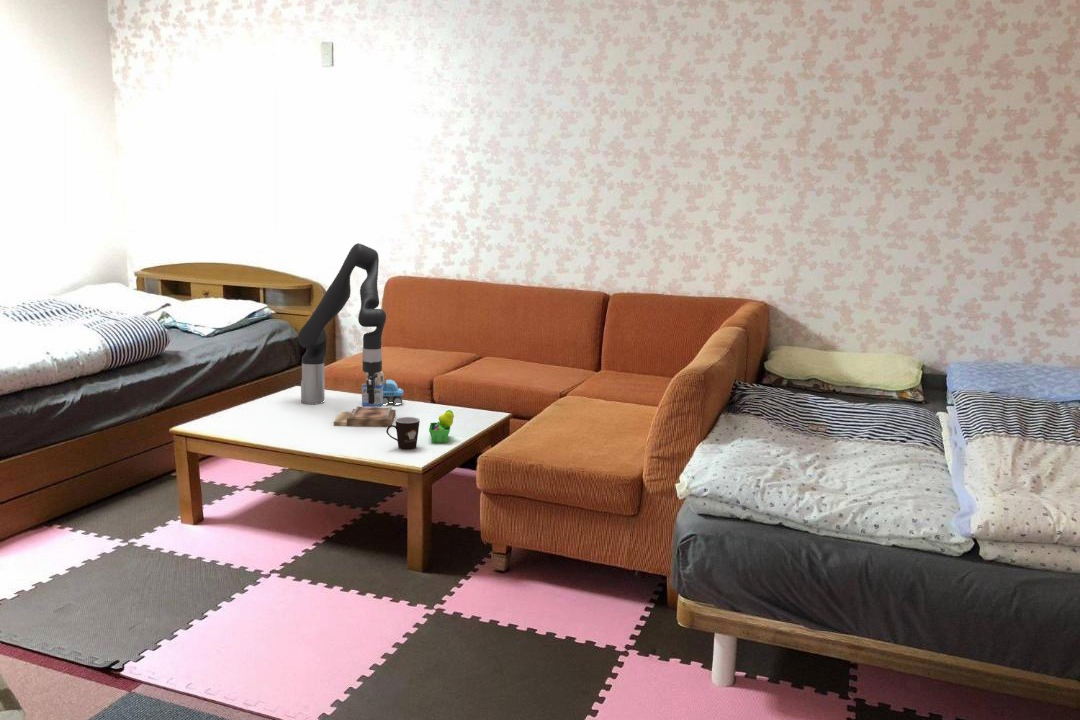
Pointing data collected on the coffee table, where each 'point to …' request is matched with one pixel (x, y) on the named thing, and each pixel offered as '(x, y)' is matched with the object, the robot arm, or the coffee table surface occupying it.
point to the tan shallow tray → (367, 417)
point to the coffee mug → (406, 432)
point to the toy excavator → (389, 390)
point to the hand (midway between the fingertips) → (372, 401)
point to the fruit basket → (441, 427)
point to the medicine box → (377, 396)
